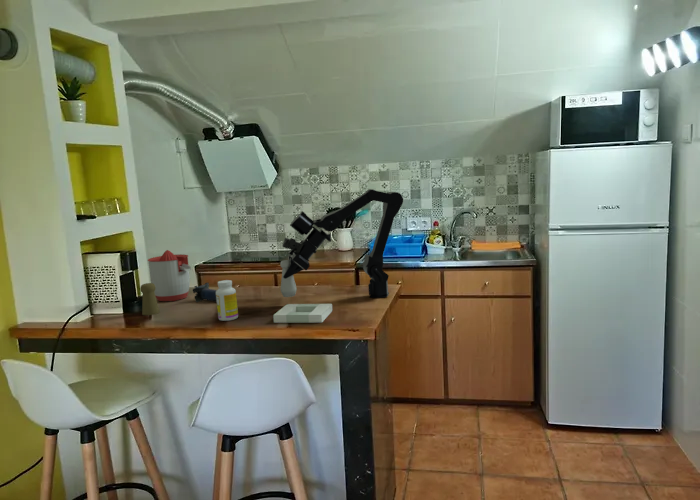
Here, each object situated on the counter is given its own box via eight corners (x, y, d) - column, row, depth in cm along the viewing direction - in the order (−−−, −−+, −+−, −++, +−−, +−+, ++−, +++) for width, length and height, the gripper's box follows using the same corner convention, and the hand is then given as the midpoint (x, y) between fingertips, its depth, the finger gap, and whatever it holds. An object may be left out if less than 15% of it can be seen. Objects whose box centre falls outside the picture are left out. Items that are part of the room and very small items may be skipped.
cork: (143, 316, 196) (139, 286, 195) (141, 312, 202) (137, 283, 200) (160, 313, 199) (157, 283, 197) (158, 310, 204) (154, 281, 203)
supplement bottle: (242, 316, 187) (238, 279, 185) (231, 321, 181) (228, 283, 179) (225, 315, 190) (221, 279, 188) (214, 321, 183) (210, 283, 182)
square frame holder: (332, 310, 187) (331, 303, 187) (321, 322, 173) (321, 314, 173) (287, 311, 190) (287, 304, 190) (273, 322, 177) (273, 315, 176)
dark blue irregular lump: (195, 305, 214) (219, 309, 209) (191, 287, 211) (215, 290, 206) (210, 296, 222) (233, 299, 216) (206, 278, 219) (230, 281, 214)
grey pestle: (288, 298, 194) (285, 262, 192) (277, 296, 198) (274, 261, 196) (300, 294, 198) (297, 259, 196) (289, 293, 202) (286, 258, 200)
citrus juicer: (179, 304, 212) (173, 253, 209) (143, 302, 218) (137, 253, 215) (204, 294, 226) (199, 246, 223) (170, 293, 233) (164, 247, 230)
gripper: (291, 226, 204) (265, 259, 204) (296, 231, 186) (267, 267, 186) (314, 245, 207) (288, 277, 206) (321, 252, 189) (292, 287, 188)
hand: (283, 277), depth 197 cm, fingers closed on grey pestle, 3 cm apart
